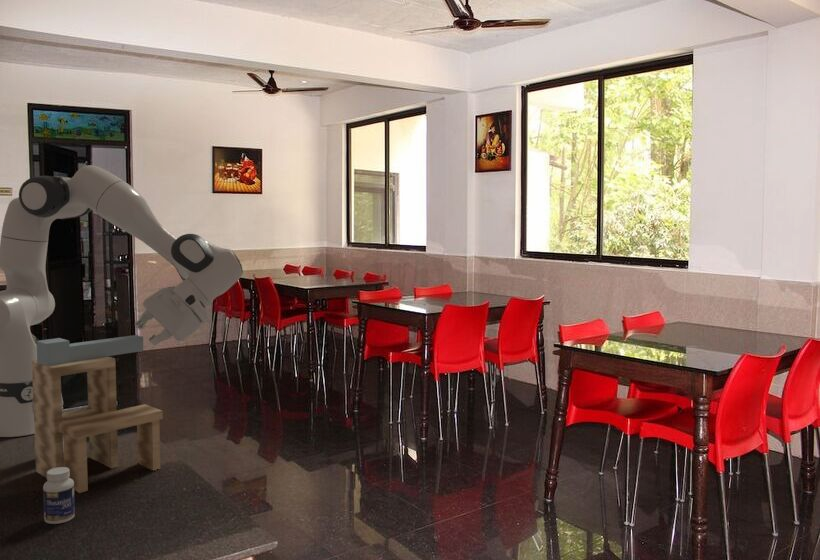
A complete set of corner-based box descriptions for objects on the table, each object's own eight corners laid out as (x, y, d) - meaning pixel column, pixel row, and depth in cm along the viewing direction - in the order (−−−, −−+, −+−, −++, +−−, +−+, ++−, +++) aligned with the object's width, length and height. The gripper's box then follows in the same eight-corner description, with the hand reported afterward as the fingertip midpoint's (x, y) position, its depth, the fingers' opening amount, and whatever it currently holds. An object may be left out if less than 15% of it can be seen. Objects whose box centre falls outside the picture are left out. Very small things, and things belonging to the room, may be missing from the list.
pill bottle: (44, 527, 130) (42, 477, 129) (44, 515, 135) (42, 468, 134) (75, 521, 133) (73, 473, 132) (74, 510, 137) (73, 463, 137)
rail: (37, 362, 153) (36, 340, 153) (134, 348, 171) (134, 328, 170) (46, 366, 150) (46, 343, 150) (145, 351, 168) (144, 331, 167)
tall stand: (36, 471, 158) (31, 360, 155) (96, 455, 168) (93, 352, 166) (56, 484, 151) (52, 368, 148) (118, 466, 161) (115, 358, 159)
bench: (61, 484, 150) (59, 422, 149) (146, 460, 166) (144, 404, 164) (77, 494, 145) (75, 430, 144) (163, 468, 161) (162, 410, 159)
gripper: (165, 276, 179) (121, 310, 174) (199, 305, 165) (152, 343, 160) (178, 292, 183) (135, 326, 178) (212, 322, 169) (167, 360, 165)
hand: (143, 334), depth 169 cm, fingers open, 8 cm apart
